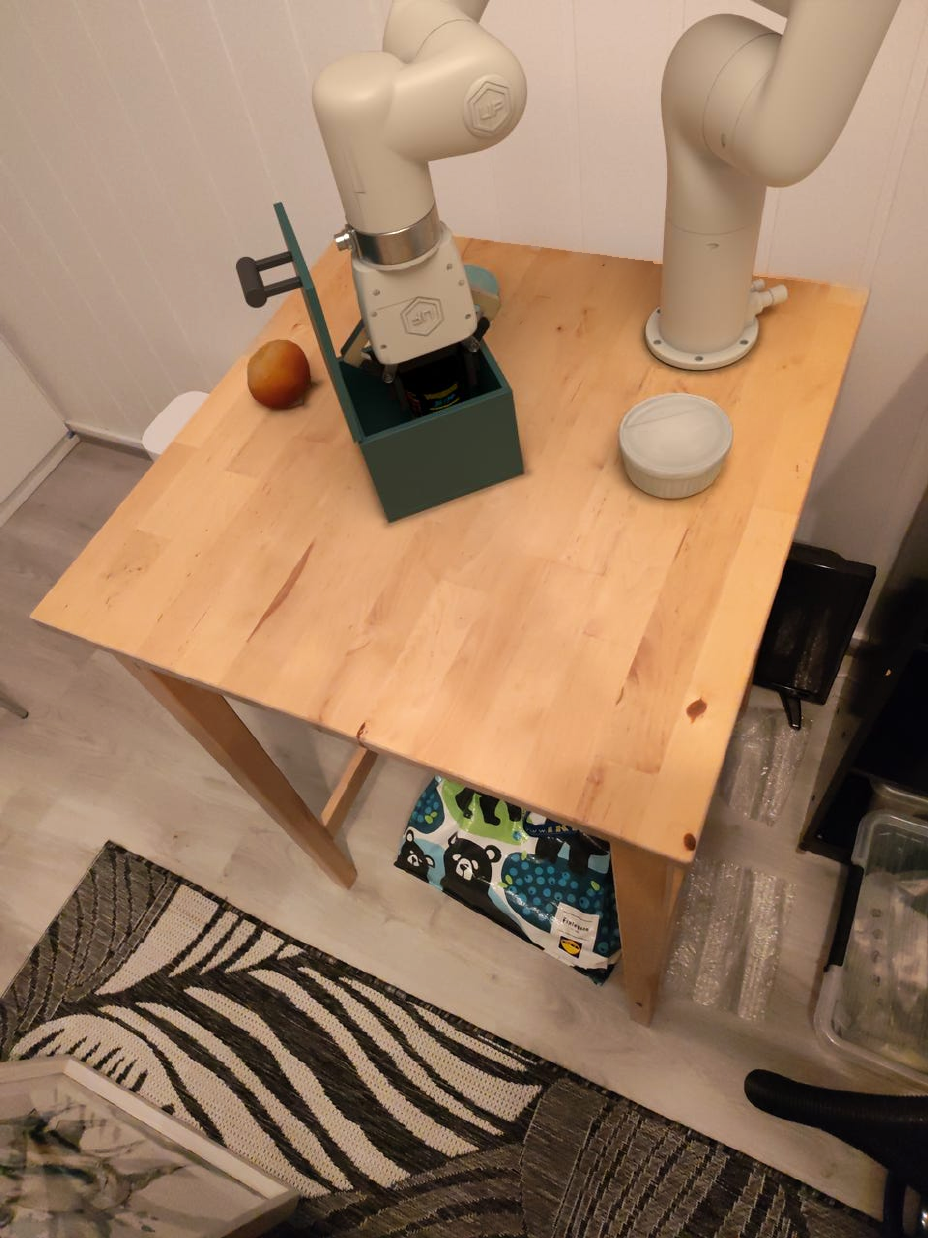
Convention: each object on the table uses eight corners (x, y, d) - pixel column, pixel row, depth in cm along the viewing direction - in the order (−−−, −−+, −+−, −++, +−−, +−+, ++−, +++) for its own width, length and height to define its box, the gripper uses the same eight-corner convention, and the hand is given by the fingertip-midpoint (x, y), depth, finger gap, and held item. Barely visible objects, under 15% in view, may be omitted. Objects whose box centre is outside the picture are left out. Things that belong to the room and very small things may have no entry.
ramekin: (665, 413, 88) (667, 375, 83) (750, 460, 82) (758, 423, 78) (595, 473, 85) (594, 437, 80) (679, 526, 79) (683, 491, 75)
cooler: (483, 395, 94) (467, 310, 84) (524, 473, 86) (512, 389, 77) (358, 440, 93) (327, 360, 83) (388, 523, 86) (359, 445, 76)
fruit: (318, 409, 95) (265, 363, 90) (278, 432, 100) (226, 390, 95) (337, 363, 99) (287, 316, 94) (297, 387, 104) (249, 344, 99)
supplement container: (490, 428, 86) (475, 350, 78) (443, 464, 85) (423, 389, 76) (449, 401, 90) (431, 323, 81) (404, 435, 88) (380, 359, 79)
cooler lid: (281, 201, 69) (219, 219, 69) (314, 286, 62) (245, 307, 61) (330, 355, 83) (278, 371, 83) (362, 440, 76) (305, 459, 75)
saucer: (510, 280, 105) (508, 264, 103) (487, 340, 99) (484, 325, 97) (426, 277, 108) (422, 262, 106) (399, 335, 102) (395, 320, 100)
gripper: (308, 286, 65) (366, 442, 80) (507, 215, 66) (528, 383, 81) (290, 239, 69) (348, 396, 84) (477, 173, 70) (502, 340, 85)
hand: (436, 388), depth 82 cm, fingers closed on supplement container, 6 cm apart
